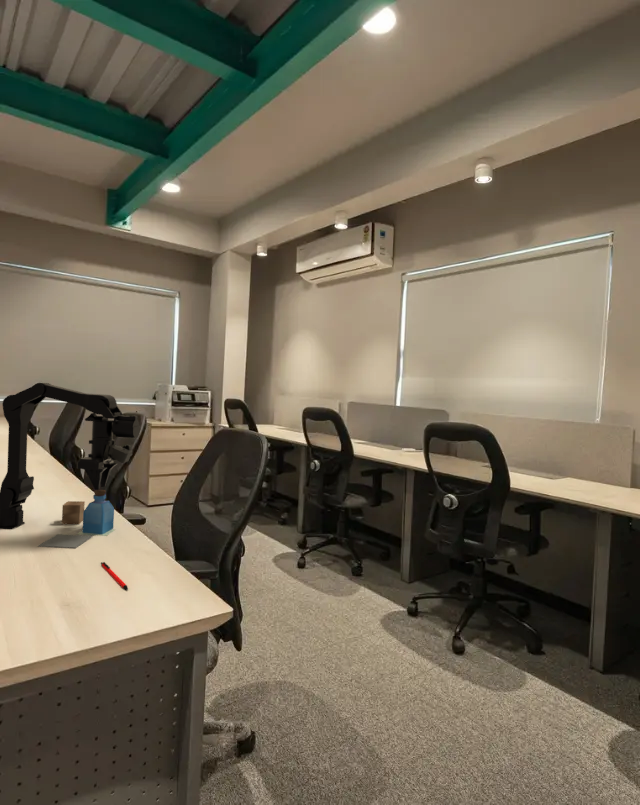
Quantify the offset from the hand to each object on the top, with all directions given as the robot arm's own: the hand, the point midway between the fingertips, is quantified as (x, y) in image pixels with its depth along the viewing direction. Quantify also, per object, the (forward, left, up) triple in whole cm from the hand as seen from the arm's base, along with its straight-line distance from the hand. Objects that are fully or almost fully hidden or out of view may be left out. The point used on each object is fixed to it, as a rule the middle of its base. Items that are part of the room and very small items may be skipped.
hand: (100, 488), depth 147 cm
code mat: (0, 0, -13) cm, 13 cm away
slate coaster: (-4, -11, -13) cm, 17 cm away
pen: (+18, -33, -14) cm, 40 cm away
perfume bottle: (0, 0, -13) cm, 13 cm away
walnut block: (-11, +7, -13) cm, 18 cm away
